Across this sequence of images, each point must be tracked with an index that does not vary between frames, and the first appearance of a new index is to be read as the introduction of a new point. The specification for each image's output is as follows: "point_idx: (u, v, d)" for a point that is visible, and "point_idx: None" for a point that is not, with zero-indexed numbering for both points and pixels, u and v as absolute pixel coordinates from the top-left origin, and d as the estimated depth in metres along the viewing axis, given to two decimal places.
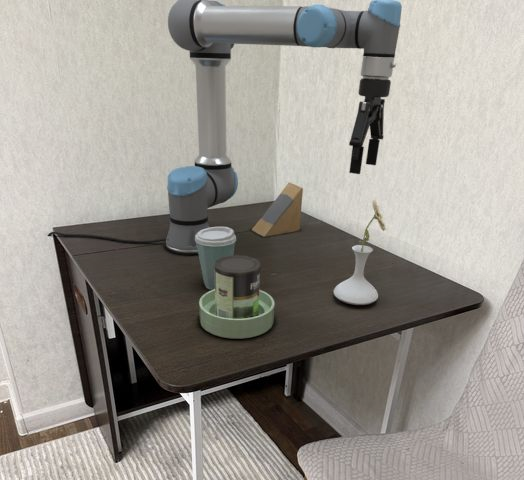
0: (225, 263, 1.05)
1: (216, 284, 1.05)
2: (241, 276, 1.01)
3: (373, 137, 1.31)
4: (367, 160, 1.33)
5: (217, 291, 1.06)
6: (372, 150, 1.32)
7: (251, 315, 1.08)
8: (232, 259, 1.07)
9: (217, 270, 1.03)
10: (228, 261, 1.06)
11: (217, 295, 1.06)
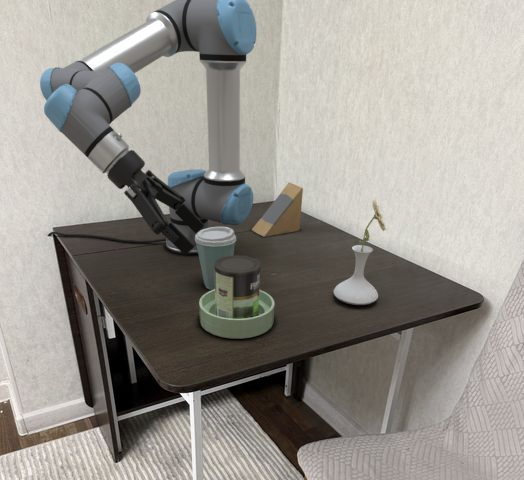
0: (225, 263, 1.05)
1: (216, 284, 1.05)
2: (241, 276, 1.01)
3: (176, 207, 1.07)
4: (193, 229, 1.08)
5: (217, 291, 1.06)
6: (188, 218, 1.07)
7: (251, 315, 1.08)
8: (232, 259, 1.07)
9: (217, 270, 1.03)
10: (228, 261, 1.06)
11: (217, 295, 1.06)
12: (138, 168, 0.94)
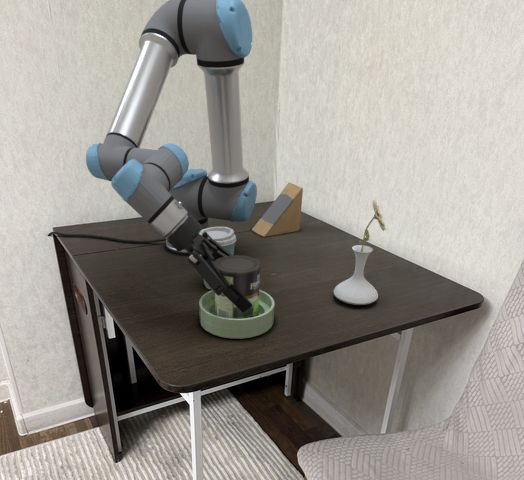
0: (225, 263, 1.05)
1: None
2: (241, 276, 1.01)
3: None
4: None
5: None
6: None
7: (251, 315, 1.08)
8: (232, 259, 1.07)
9: None
10: (228, 261, 1.06)
11: (217, 295, 1.06)
12: (197, 233, 1.00)
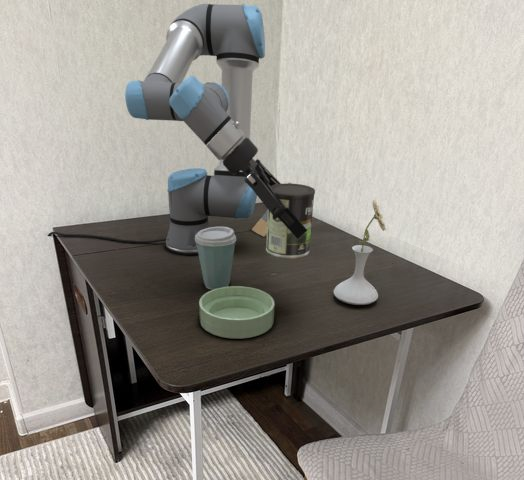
0: (279, 189, 1.04)
1: None
2: (297, 199, 1.01)
3: None
4: None
5: (271, 217, 1.05)
6: None
7: (304, 243, 1.07)
8: (285, 186, 1.07)
9: None
10: (282, 187, 1.06)
11: (270, 221, 1.05)
12: (254, 154, 0.99)
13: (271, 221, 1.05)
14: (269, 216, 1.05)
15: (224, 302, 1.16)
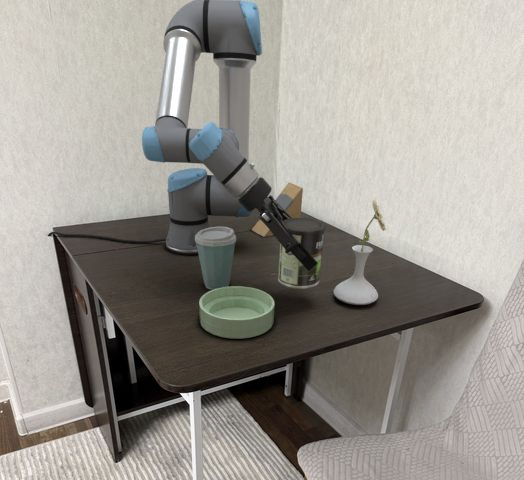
0: (291, 224, 1.11)
1: None
2: (309, 235, 1.07)
3: None
4: None
5: (283, 250, 1.11)
6: None
7: (315, 274, 1.13)
8: (297, 221, 1.13)
9: None
10: (293, 222, 1.12)
11: (283, 254, 1.12)
12: (268, 193, 1.05)
13: (284, 254, 1.12)
14: (282, 249, 1.12)
15: (224, 302, 1.16)
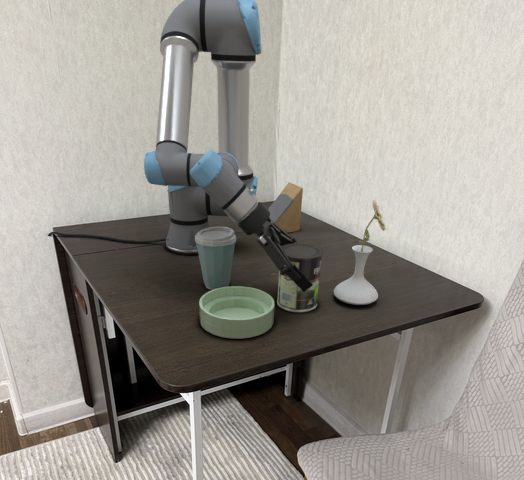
0: (289, 250, 1.14)
1: None
2: (307, 262, 1.10)
3: None
4: None
5: (282, 276, 1.15)
6: None
7: (312, 298, 1.17)
8: (295, 246, 1.16)
9: None
10: (292, 248, 1.15)
11: (282, 280, 1.15)
12: (267, 218, 1.08)
13: (282, 279, 1.15)
14: (280, 275, 1.15)
15: (224, 302, 1.16)
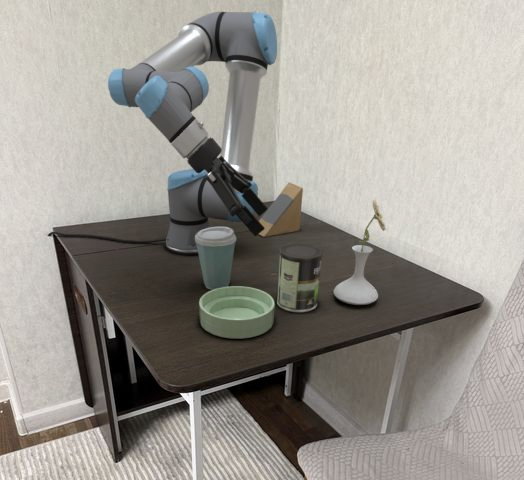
0: (289, 250, 1.14)
1: (281, 269, 1.14)
2: (307, 262, 1.10)
3: (243, 191, 1.15)
4: (257, 212, 1.17)
5: (282, 276, 1.15)
6: (253, 201, 1.16)
7: (312, 298, 1.17)
8: (295, 246, 1.16)
9: (284, 256, 1.12)
10: (292, 248, 1.15)
11: (282, 280, 1.15)
12: (217, 155, 1.02)
13: (282, 279, 1.15)
14: (280, 275, 1.15)
15: (224, 302, 1.16)
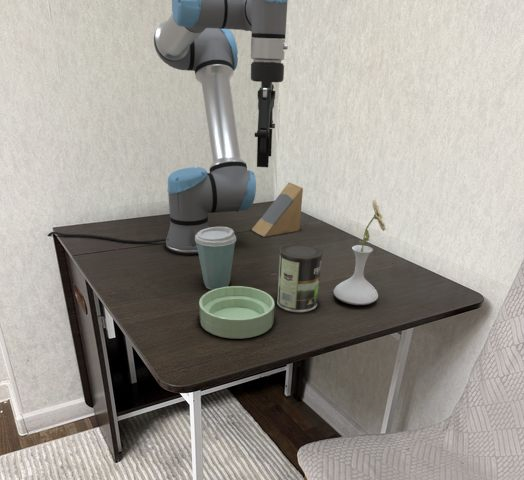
0: (289, 250, 1.14)
1: (281, 269, 1.14)
2: (307, 262, 1.10)
3: None
4: None
5: (282, 276, 1.15)
6: None
7: (312, 298, 1.17)
8: (295, 246, 1.16)
9: (284, 256, 1.12)
10: (292, 248, 1.15)
11: (282, 280, 1.15)
12: (279, 81, 1.08)
13: (282, 279, 1.15)
14: (280, 275, 1.15)
15: (224, 302, 1.16)
